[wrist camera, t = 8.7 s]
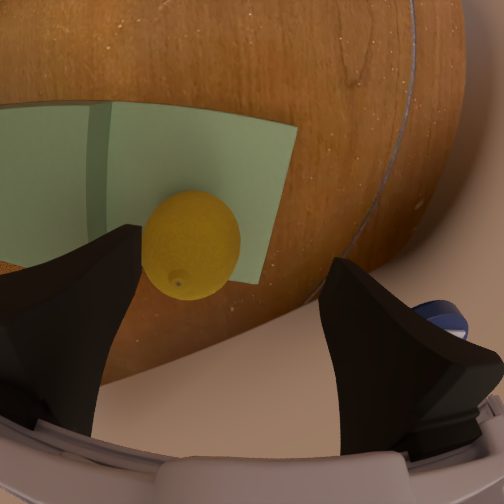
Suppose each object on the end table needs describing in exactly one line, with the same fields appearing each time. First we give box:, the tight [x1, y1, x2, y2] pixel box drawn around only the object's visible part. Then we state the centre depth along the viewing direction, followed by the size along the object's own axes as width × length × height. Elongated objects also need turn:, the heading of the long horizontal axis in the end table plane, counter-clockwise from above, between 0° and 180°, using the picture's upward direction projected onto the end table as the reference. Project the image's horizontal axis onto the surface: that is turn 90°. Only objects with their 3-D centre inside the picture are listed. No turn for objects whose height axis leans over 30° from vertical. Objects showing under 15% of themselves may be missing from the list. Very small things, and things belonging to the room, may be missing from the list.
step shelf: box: [0, 100, 298, 285], centre depth 16 cm, size 12×40×6 cm, turn 79°
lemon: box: [142, 190, 241, 300], centre depth 17 cm, size 6×6×8 cm
